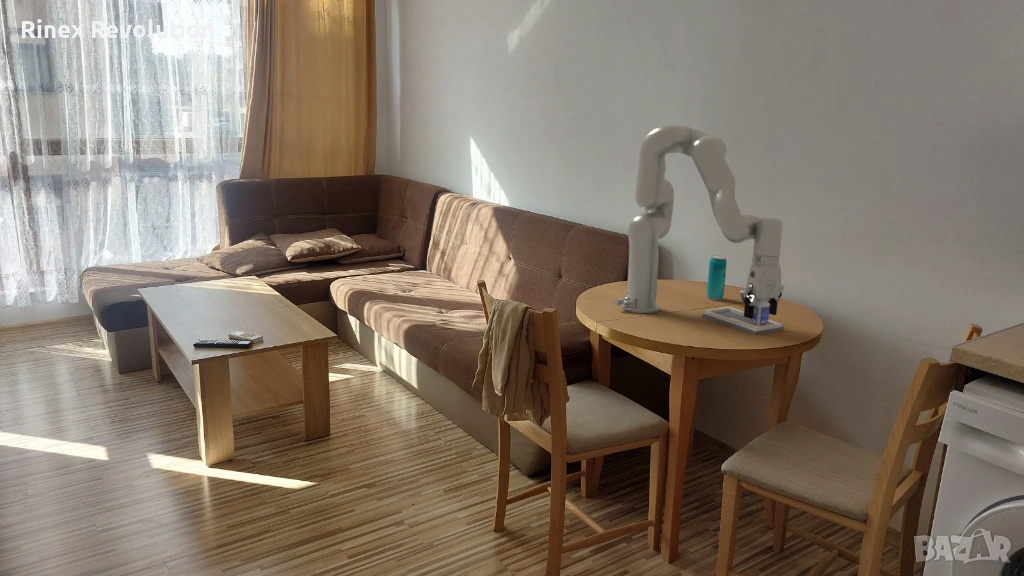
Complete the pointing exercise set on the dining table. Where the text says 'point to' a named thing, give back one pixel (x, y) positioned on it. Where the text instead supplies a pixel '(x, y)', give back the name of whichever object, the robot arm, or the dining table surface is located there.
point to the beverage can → (716, 277)
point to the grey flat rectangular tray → (739, 320)
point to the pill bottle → (760, 313)
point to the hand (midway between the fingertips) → (760, 315)
